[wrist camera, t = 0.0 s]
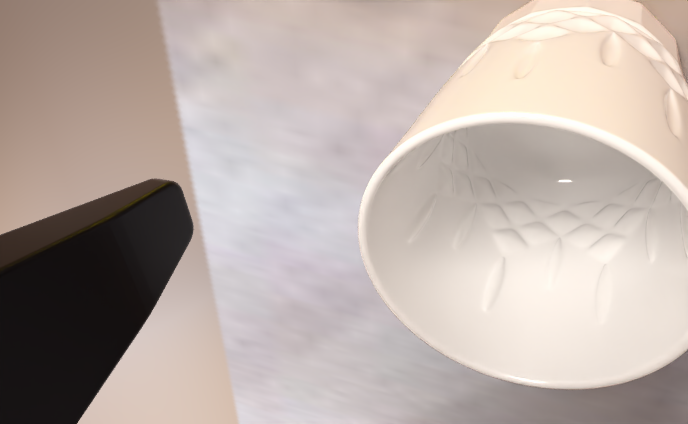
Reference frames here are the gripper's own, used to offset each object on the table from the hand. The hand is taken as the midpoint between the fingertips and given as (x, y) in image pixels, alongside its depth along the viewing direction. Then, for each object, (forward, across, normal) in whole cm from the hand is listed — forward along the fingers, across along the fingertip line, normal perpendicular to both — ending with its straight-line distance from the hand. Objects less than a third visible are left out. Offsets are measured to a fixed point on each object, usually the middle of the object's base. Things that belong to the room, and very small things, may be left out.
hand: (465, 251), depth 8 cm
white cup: (+15, 0, +4) cm, 16 cm away
